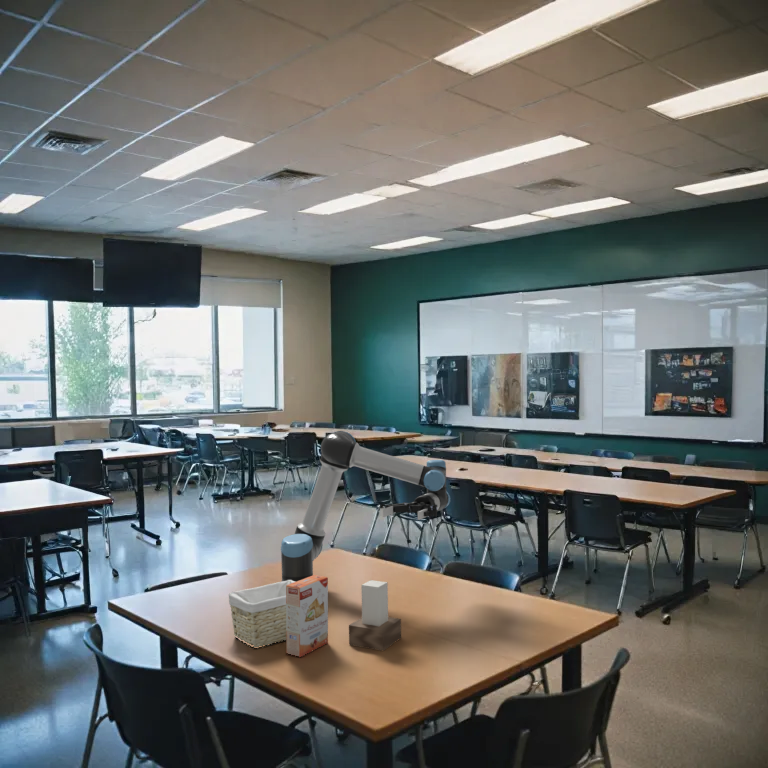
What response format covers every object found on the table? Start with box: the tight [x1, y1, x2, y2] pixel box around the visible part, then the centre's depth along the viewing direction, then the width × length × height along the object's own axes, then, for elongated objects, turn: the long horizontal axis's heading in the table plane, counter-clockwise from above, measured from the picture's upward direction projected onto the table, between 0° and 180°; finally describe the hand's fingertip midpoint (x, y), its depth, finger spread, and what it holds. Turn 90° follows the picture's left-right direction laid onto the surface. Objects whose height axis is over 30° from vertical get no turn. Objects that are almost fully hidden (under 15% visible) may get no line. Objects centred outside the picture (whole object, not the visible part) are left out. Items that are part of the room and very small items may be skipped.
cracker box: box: [285, 574, 329, 658], centre depth 216 cm, size 14×6×21 cm, turn 148°
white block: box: [361, 579, 389, 626], centre depth 221 cm, size 6×6×12 cm
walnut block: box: [348, 616, 402, 652], centre depth 221 cm, size 12×12×6 cm
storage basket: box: [228, 580, 295, 647], centre depth 228 cm, size 24×16×15 cm
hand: (400, 514), depth 246 cm, fingers open, 13 cm apart
